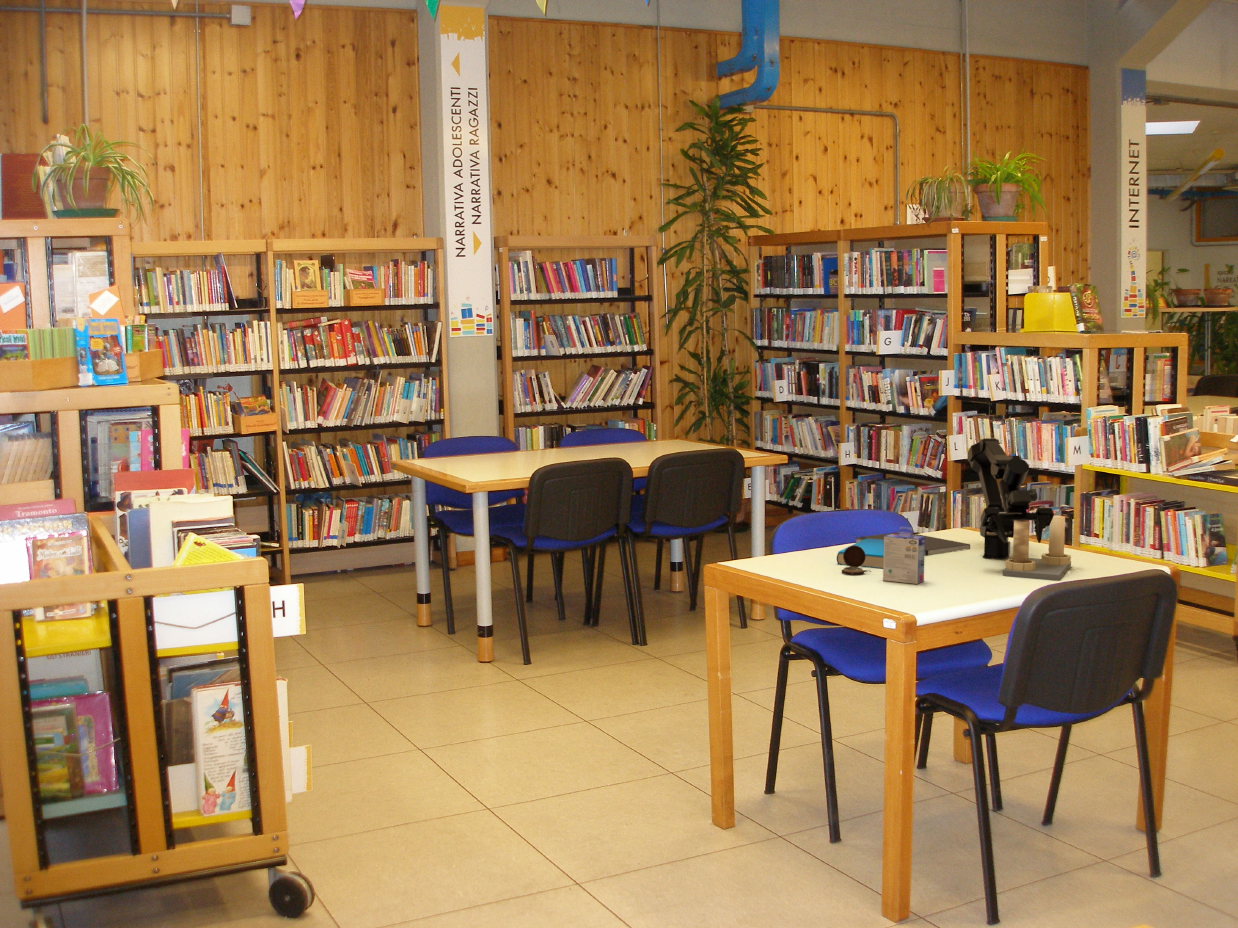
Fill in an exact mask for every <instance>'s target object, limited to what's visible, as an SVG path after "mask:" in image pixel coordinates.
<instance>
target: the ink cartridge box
mask: <svg viewBox="0 0 1238 928" xmlns="http://www.w3.org/2000/svg"><path fill="white" fill-rule="evenodd" d="M902 530H907V531H902ZM908 531H909V532H908ZM897 532H898V535H894V534H889V535H887V536H885V537H884V558H883V569H882V581H886V582H888V581H889V582H897V583H905V584H911V585H912V584H914V585H918V584H921V583H923V582H925V556H924V553H925V537H924V536H925V535H924V536H912V533H913V527H912V526H903V525H901V526H899V530H898V531H897Z"/></svg>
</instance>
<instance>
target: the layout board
mask: <svg viewBox="0 0 1238 928" xmlns="http://www.w3.org/2000/svg"><path fill="white" fill-rule="evenodd" d="M1048 527H1049V529H1048V530H1049V531H1048V532H1049V533H1048V552H1047V553H1046V552H1045V553H1044V552H1043V553H1042V554H1041V555H1040V556H1041V558H1033V557H1028V563H1014V562H1013V558H1008V559H1007V558H1006V559H1005V568H1003V569H1002V576H1003V577H1014V578H1023V579H1025V578H1027V579H1035V580H1046V581H1047V580H1049V581H1056V582H1057V581H1058V582H1059V581H1060V580H1062V578H1063V576H1064V575H1065V574H1067V572H1068V571H1069V570H1070V568H1071V567H1072V561H1071V560H1072V556H1071V555H1069V554H1066V553H1065V533H1066V532H1065V528H1066V516H1063V515H1054V516H1053V519H1052V521H1051V523H1050V525H1049V526H1048Z"/></svg>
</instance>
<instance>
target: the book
mask: <svg viewBox="0 0 1238 928" xmlns="http://www.w3.org/2000/svg"><path fill="white" fill-rule="evenodd" d="M853 545H855V546H859V547H861V548H862V549H863V550H864V552H865V555H866V559H865V561H864V563H863V564H862V565H861V566H862V567H863V568H869V567H870V568H872V569H881V570H883V558H884V540H881V539H869V538H866V539H864V540H862V541H860V542H858V543H857V542H855V543H853V544H852V545H849V546H848V547H850V546H853ZM848 547H845V548H843V549H841V550H838V552H837V555H836V563H837V565H841V566H847V564H846V563H845V561H844V559H843V554H844V551H845V550H846V549H847V548H848ZM862 567H861V568H862Z"/></svg>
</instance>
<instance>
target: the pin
mask: <svg viewBox="0 0 1238 928" xmlns="http://www.w3.org/2000/svg"><path fill="white" fill-rule="evenodd" d="M1012 545H1013V547H1012V549H1013V550H1012V559H1013V562H1014V563H1028V558H1029V555H1030V554H1029V550H1030V549H1029V547H1030V546H1029V545H1030V520H1015V521H1014V537H1013V544H1012Z"/></svg>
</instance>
